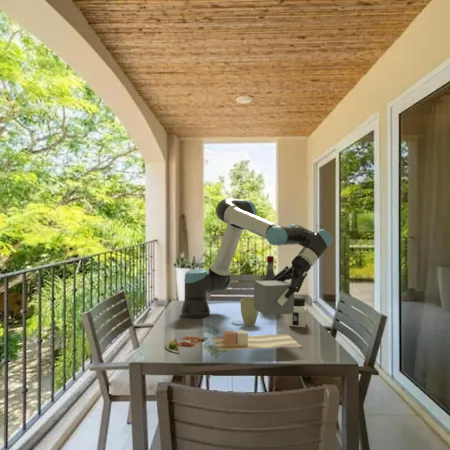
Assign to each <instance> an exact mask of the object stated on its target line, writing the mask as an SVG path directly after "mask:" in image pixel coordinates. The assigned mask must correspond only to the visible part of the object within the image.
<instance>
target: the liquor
mask: <svg viewBox="0 0 450 450" xmlns="http://www.w3.org/2000/svg"><path fill="white" fill-rule="evenodd" d="M274 257H275V256H274V255H268V256H266V259H267V260H266V261H267V266H266V267H267V271H266V274H265V275H264V276H263V277H262V278H261V280H260V281H270V279H272V278H273V277H274V276H276V275H275V271H274V261H275V259H274Z"/></svg>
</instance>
